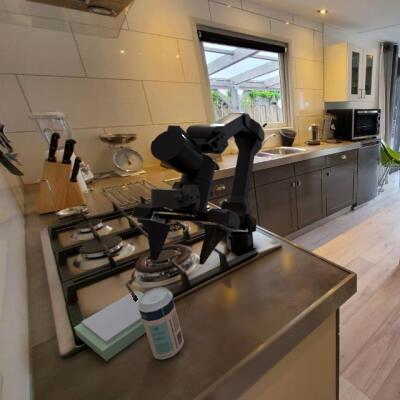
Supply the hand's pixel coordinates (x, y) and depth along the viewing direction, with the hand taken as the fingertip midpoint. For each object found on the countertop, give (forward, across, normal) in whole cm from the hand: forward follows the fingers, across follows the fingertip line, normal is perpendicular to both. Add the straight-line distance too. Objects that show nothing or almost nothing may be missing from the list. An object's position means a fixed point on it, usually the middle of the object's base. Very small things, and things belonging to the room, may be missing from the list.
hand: (177, 262), depth 46 cm
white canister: (+15, 0, +4) cm, 15 cm away
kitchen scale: (+13, -12, +6) cm, 18 cm away
